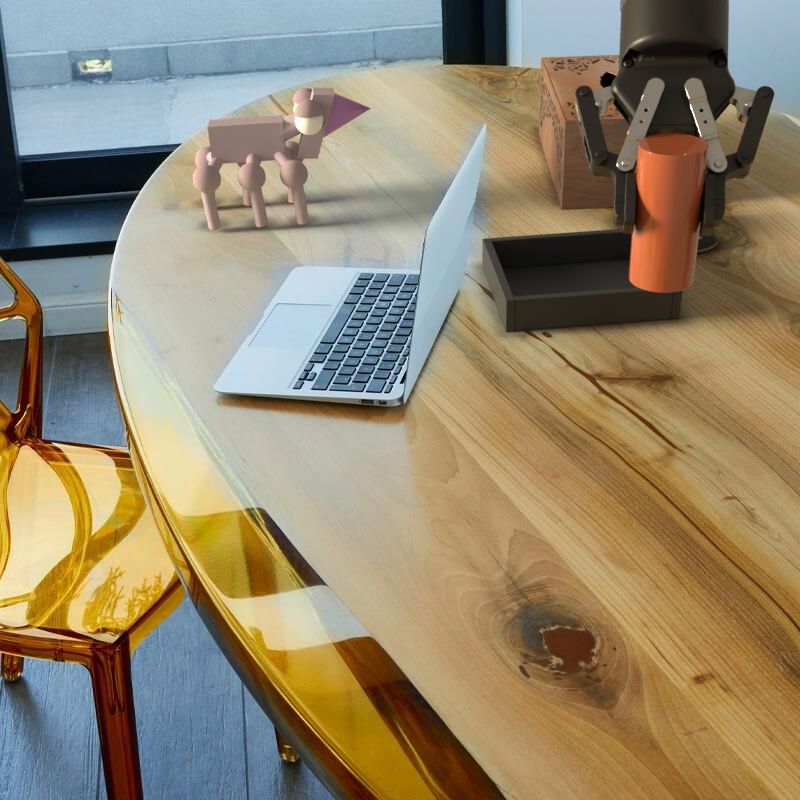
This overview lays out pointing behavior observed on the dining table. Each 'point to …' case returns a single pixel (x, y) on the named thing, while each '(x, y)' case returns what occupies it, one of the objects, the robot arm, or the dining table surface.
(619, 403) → the dining table surface
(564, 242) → the tray
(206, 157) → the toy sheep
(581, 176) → the tissue box cover
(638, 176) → the canister
